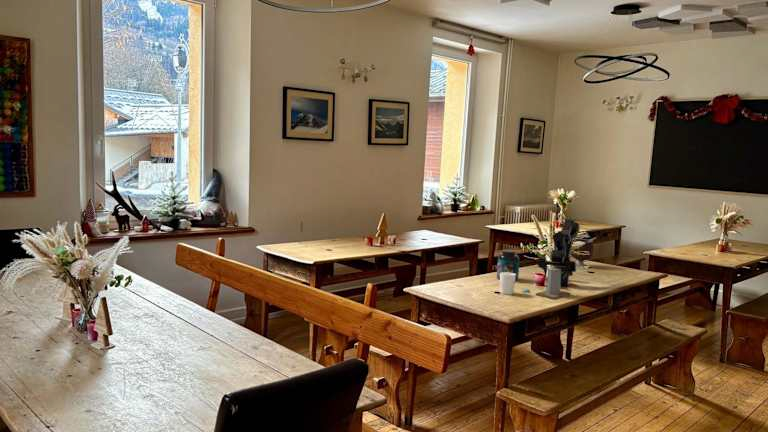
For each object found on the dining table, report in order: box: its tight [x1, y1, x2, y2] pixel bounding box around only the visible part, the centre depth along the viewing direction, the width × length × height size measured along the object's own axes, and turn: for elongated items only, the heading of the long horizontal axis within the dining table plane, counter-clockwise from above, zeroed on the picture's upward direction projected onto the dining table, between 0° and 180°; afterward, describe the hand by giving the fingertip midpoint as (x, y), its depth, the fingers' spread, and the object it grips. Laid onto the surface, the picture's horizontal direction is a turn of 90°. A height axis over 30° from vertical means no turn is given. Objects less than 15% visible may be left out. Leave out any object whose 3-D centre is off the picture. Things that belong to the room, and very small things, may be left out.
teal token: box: [522, 288, 530, 294], centre depth 289 cm, size 3×3×1 cm
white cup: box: [499, 272, 516, 296], centre depth 285 cm, size 8×8×10 cm
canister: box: [545, 267, 561, 295], centre depth 284 cm, size 6×6×12 cm
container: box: [496, 249, 520, 282], centre depth 318 cm, size 12×12×17 cm
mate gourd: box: [570, 237, 597, 267], centre depth 364 cm, size 16×14×20 cm
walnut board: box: [535, 290, 571, 300], centre depth 285 cm, size 16×10×1 cm, turn 132°
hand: (553, 277), depth 282 cm, fingers open, 8 cm apart
